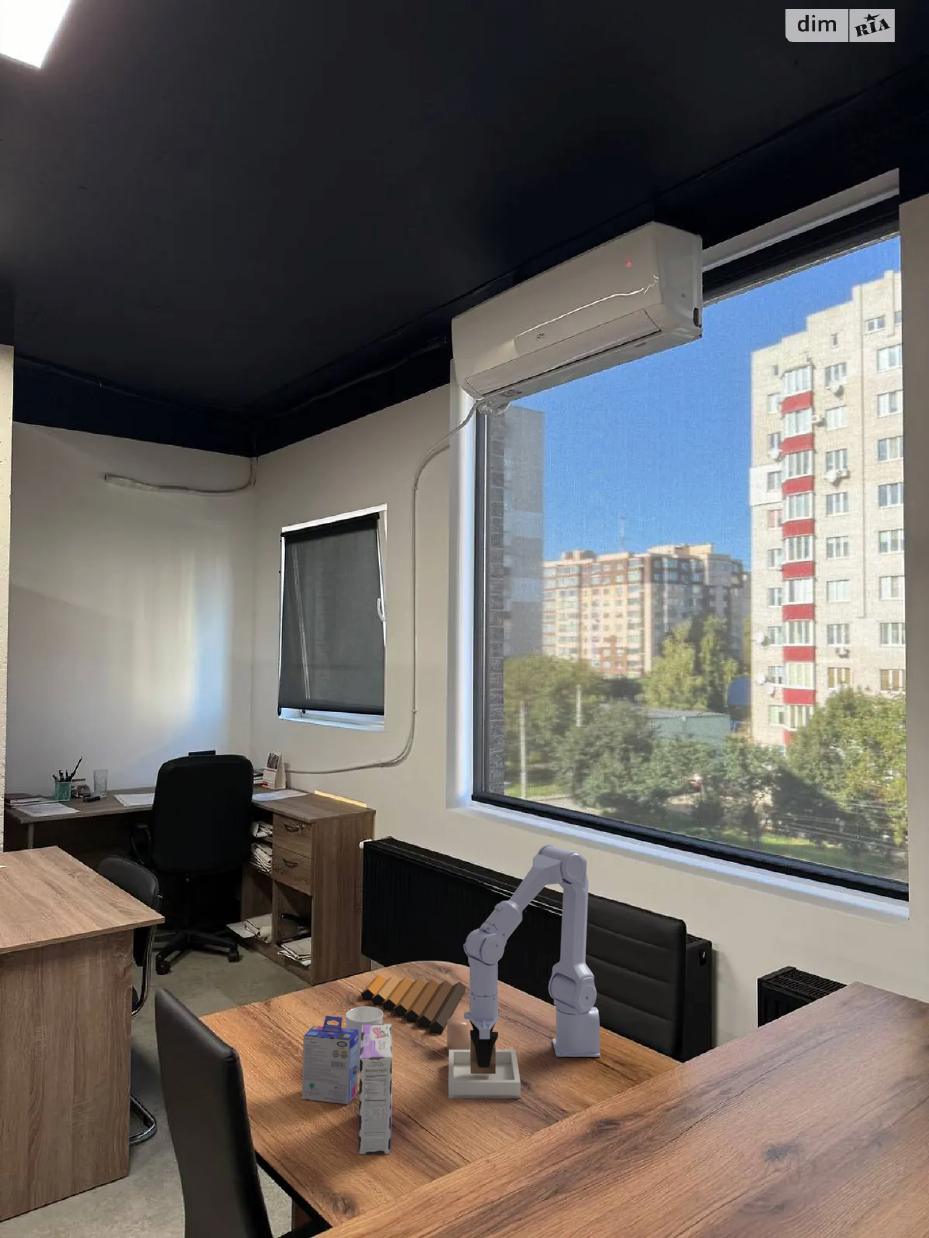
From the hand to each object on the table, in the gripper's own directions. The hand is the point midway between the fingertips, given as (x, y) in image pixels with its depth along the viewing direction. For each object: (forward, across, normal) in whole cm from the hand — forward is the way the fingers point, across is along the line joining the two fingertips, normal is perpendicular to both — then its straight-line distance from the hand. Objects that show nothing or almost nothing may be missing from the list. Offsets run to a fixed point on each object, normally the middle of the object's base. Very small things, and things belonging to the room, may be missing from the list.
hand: (483, 1060), depth 171 cm
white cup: (+4, -8, -25) cm, 27 cm away
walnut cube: (+2, 0, 0) cm, 2 cm away
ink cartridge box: (+4, +6, -30) cm, 31 cm away
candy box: (+4, +19, -20) cm, 28 cm away
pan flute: (+5, -36, -18) cm, 41 cm away
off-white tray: (+4, 0, 0) cm, 4 cm away
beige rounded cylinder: (+4, -14, -5) cm, 15 cm away
